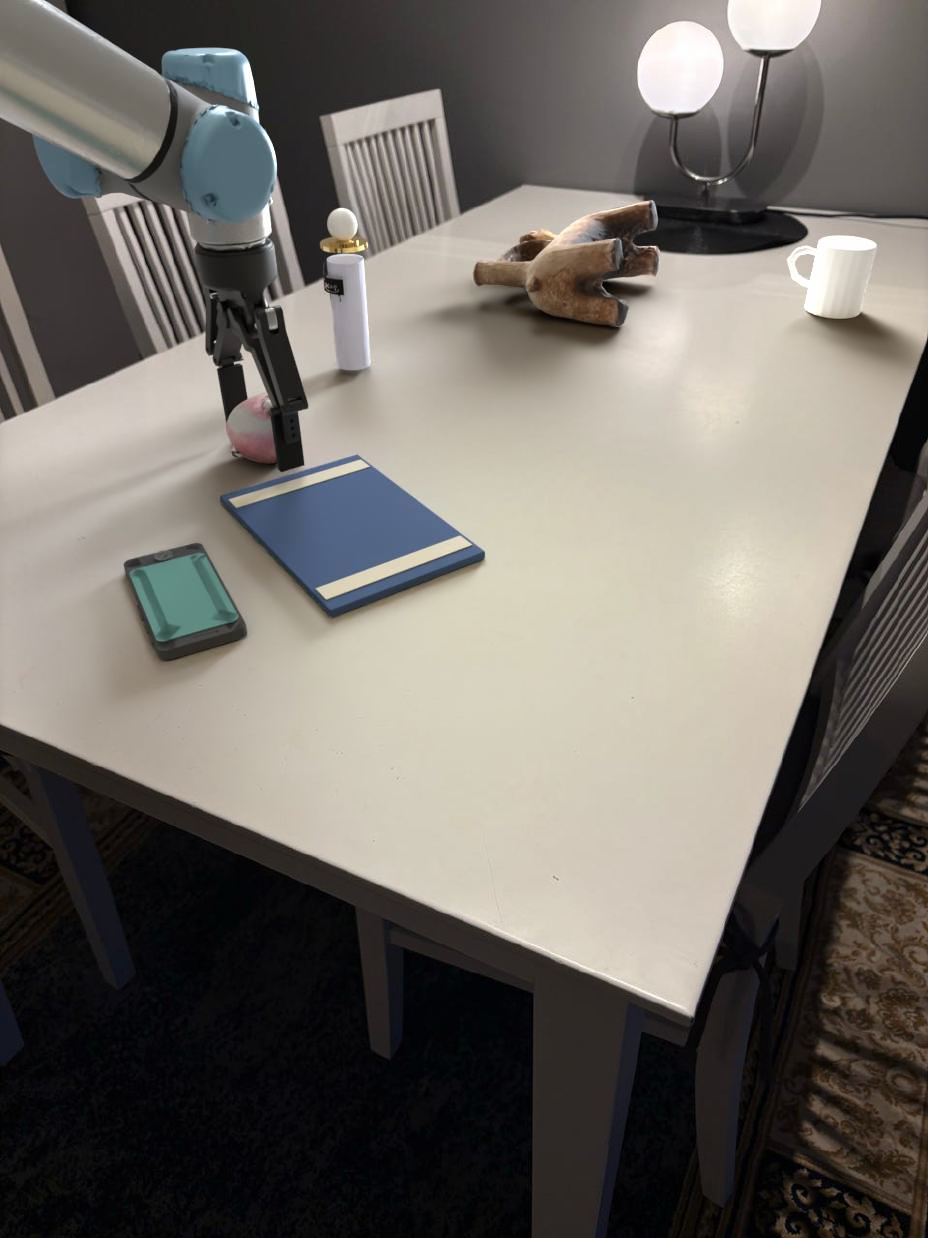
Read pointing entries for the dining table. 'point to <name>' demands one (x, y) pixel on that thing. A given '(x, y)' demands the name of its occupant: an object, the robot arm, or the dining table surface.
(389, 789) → the dining table surface
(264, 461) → the onion
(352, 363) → the perfume bottle
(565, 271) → the ceramic vessel
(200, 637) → the smartphone
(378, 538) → the towel
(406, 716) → the dining table surface
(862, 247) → the mug
